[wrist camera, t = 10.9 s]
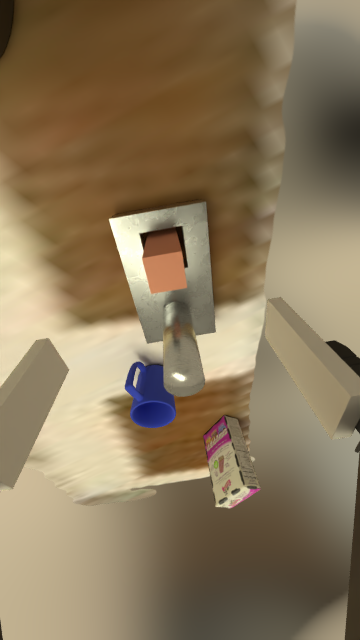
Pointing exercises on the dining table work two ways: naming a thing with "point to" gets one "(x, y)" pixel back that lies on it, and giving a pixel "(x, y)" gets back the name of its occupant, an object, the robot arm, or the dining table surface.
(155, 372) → the mug
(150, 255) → the orange rectangular block
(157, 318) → the gray socket post base
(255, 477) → the candy bar box
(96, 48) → the dining table surface
